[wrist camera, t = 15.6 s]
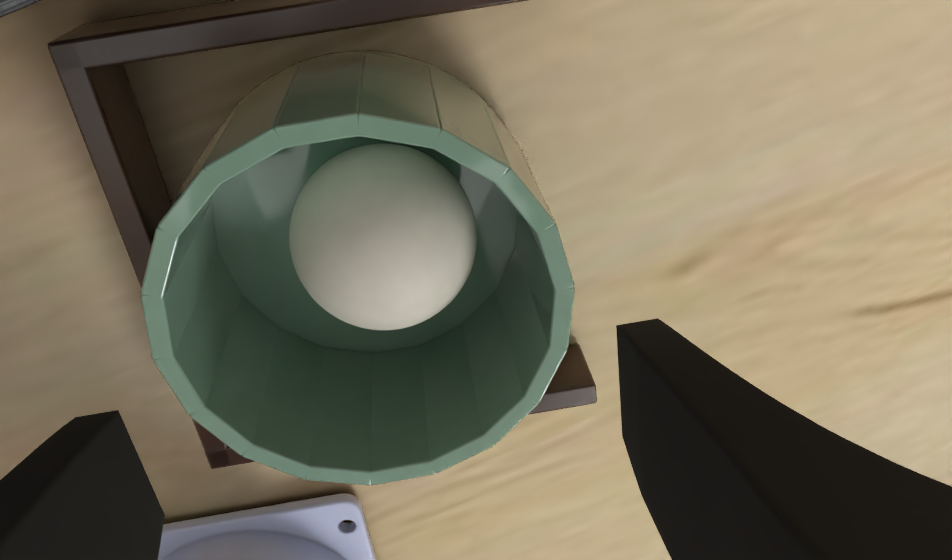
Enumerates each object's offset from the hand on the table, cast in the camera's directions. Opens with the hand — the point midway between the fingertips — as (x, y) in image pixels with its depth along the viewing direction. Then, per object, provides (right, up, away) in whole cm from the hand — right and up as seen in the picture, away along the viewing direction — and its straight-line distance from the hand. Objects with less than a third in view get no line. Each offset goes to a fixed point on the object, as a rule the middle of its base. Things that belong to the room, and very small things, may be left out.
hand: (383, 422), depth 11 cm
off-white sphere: (-1, +3, +5) cm, 6 cm away
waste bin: (-1, +4, +8) cm, 9 cm away
